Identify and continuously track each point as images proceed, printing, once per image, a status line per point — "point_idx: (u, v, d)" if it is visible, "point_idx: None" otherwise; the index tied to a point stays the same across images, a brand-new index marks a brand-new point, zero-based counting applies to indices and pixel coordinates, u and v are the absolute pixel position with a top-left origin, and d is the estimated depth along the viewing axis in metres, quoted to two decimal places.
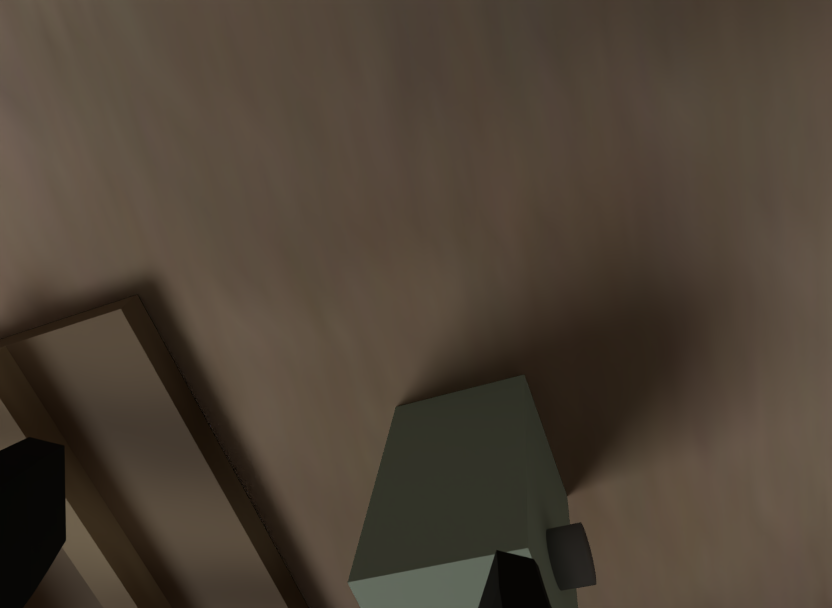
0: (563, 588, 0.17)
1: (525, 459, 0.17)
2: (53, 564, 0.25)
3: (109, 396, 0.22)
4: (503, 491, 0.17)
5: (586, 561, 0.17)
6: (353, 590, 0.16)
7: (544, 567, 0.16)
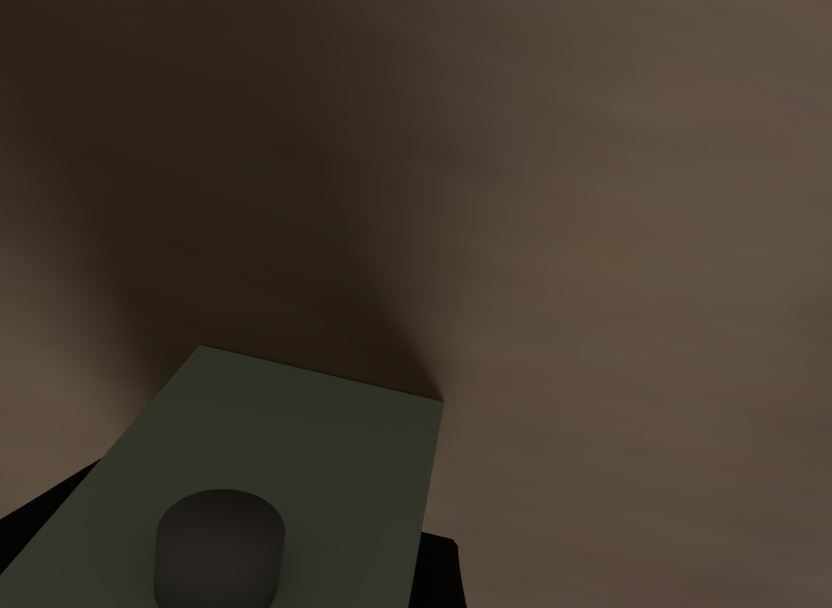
0: None
1: (78, 486, 0.10)
2: None
3: None
4: None
5: (178, 560, 0.08)
6: None
7: None
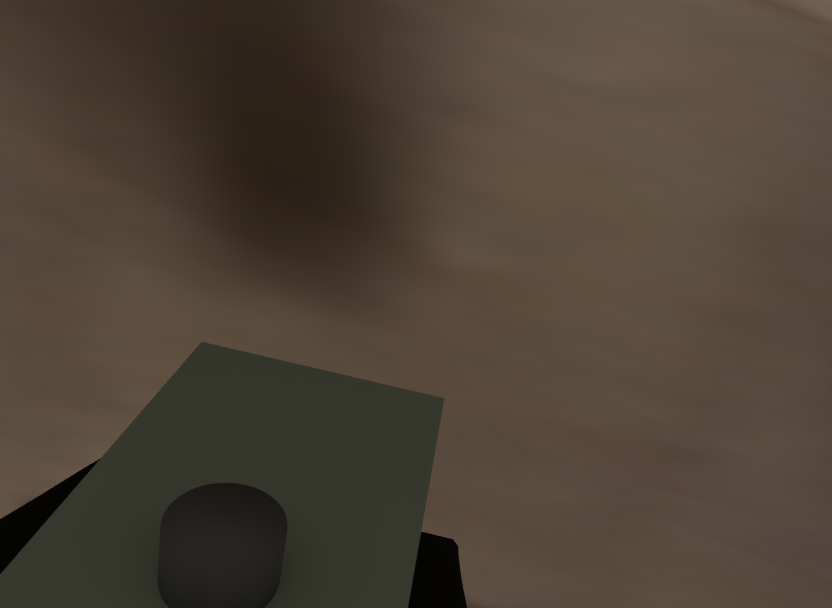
0: None
1: (82, 481, 0.10)
2: None
3: None
4: None
5: (182, 552, 0.08)
6: None
7: None
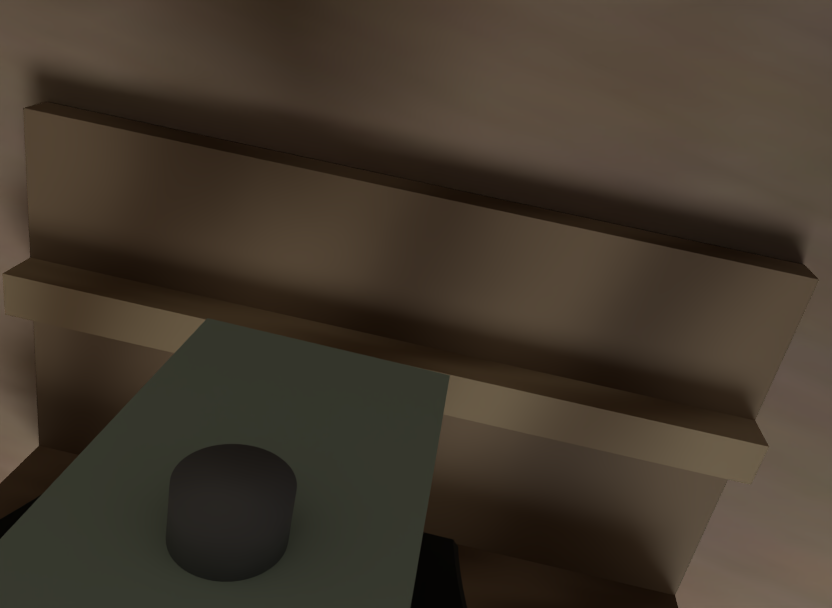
0: (235, 574, 0.08)
1: (89, 445, 0.10)
2: None
3: (116, 197, 0.19)
4: None
5: (192, 507, 0.08)
6: None
7: (86, 597, 0.07)
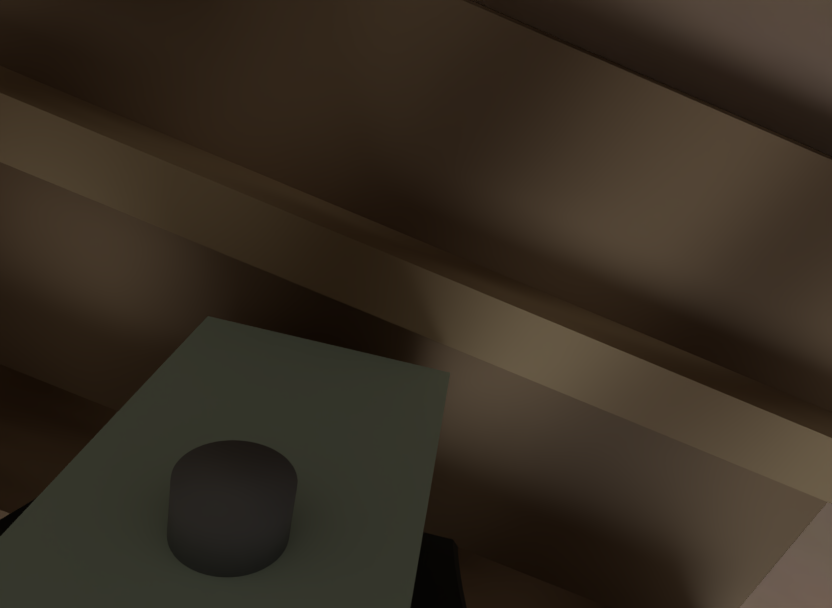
0: (236, 570, 0.08)
1: (90, 442, 0.10)
2: None
3: None
4: None
5: (193, 503, 0.08)
6: None
7: (87, 593, 0.07)
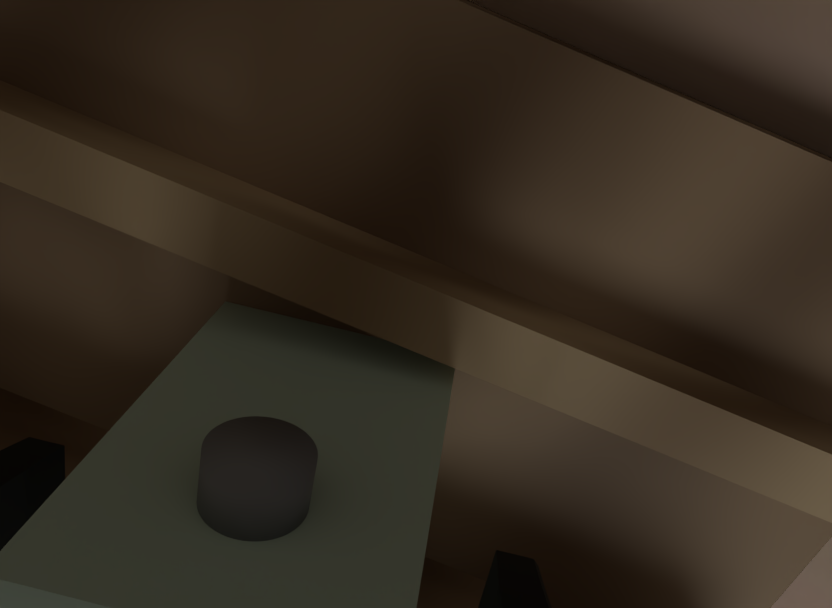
0: (262, 535, 0.09)
1: (121, 418, 0.10)
2: None
3: None
4: None
5: (222, 472, 0.08)
6: None
7: (127, 553, 0.08)
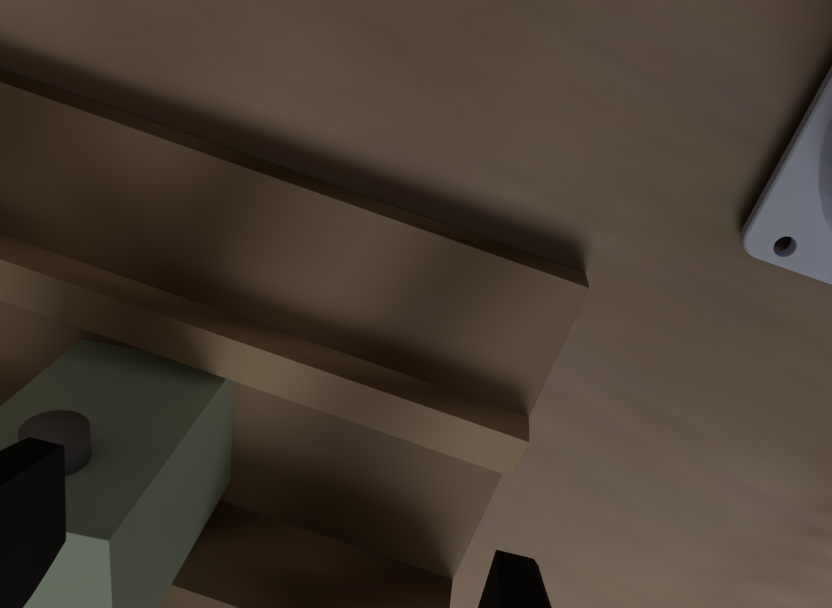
0: None
1: None
2: None
3: None
4: None
5: None
6: None
7: None
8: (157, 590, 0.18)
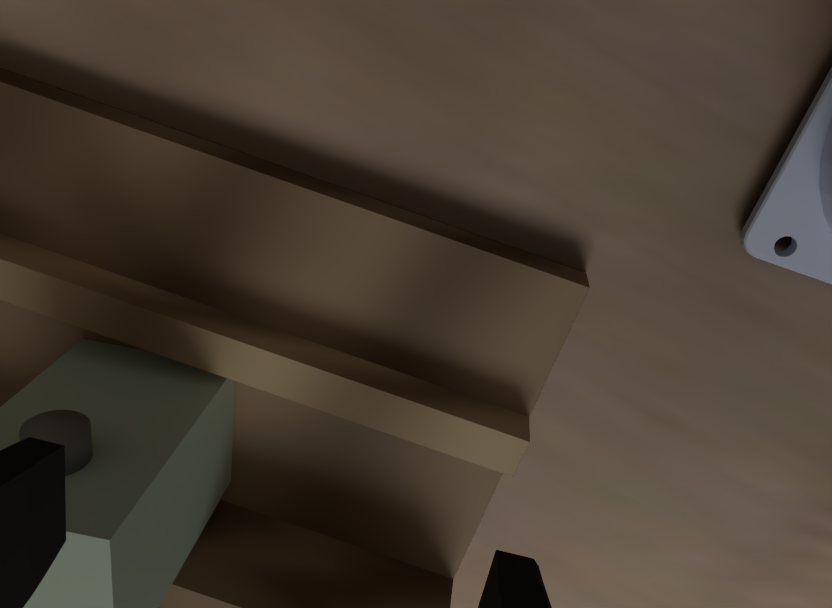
0: None
1: None
2: None
3: None
4: None
5: None
6: None
7: None
8: (158, 589, 0.18)
